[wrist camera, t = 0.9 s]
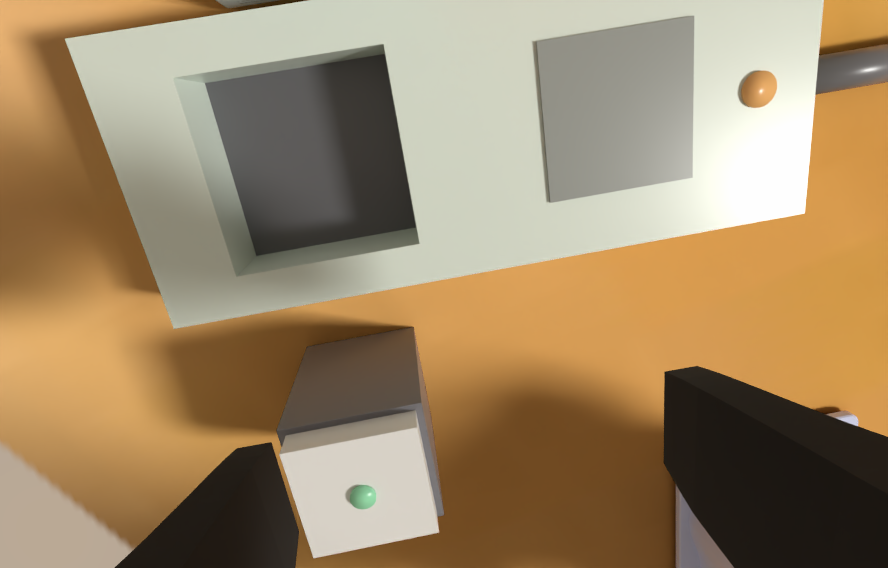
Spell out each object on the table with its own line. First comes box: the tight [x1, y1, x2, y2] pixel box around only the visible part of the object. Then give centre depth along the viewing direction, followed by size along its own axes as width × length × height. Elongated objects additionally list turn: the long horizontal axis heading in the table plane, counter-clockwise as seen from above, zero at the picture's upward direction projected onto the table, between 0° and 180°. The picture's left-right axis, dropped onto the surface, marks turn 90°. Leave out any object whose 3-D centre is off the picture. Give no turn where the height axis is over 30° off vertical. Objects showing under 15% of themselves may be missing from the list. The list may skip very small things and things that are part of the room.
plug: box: [276, 327, 444, 558], centre depth 16 cm, size 4×4×6 cm
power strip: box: [65, 0, 888, 329], centre depth 15 cm, size 8×27×3 cm, turn 99°
